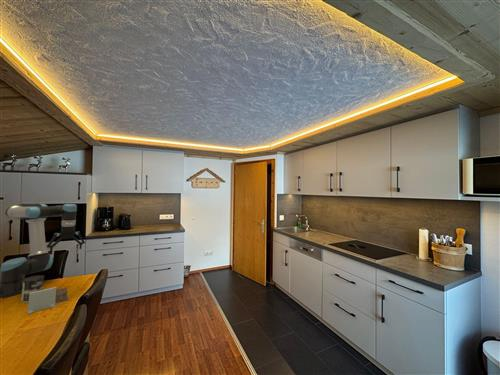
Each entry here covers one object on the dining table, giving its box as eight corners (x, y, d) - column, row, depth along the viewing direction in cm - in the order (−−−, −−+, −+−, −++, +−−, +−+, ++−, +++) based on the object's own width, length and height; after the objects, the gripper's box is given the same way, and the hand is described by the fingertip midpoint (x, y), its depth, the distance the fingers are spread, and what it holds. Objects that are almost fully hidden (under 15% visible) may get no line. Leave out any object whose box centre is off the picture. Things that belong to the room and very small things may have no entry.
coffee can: (46, 296, 143) (48, 276, 143) (28, 303, 133) (30, 282, 133) (35, 293, 145) (37, 274, 146) (16, 301, 135) (18, 280, 135)
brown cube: (53, 298, 139) (54, 290, 139) (65, 295, 144) (66, 287, 144) (54, 302, 135) (55, 293, 135) (66, 299, 139) (67, 290, 140)
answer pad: (51, 299, 139) (51, 298, 139) (66, 295, 145) (67, 294, 145) (52, 304, 134) (52, 303, 134) (68, 300, 140) (68, 299, 140)
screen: (27, 311, 125) (29, 291, 126) (54, 304, 134) (55, 285, 134) (27, 314, 122) (29, 294, 122) (55, 307, 131) (56, 288, 131)
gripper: (43, 228, 133) (40, 260, 133) (91, 225, 151) (88, 253, 151) (43, 226, 138) (40, 257, 138) (89, 223, 156) (87, 251, 156)
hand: (65, 255), depth 144 cm, fingers open, 13 cm apart
